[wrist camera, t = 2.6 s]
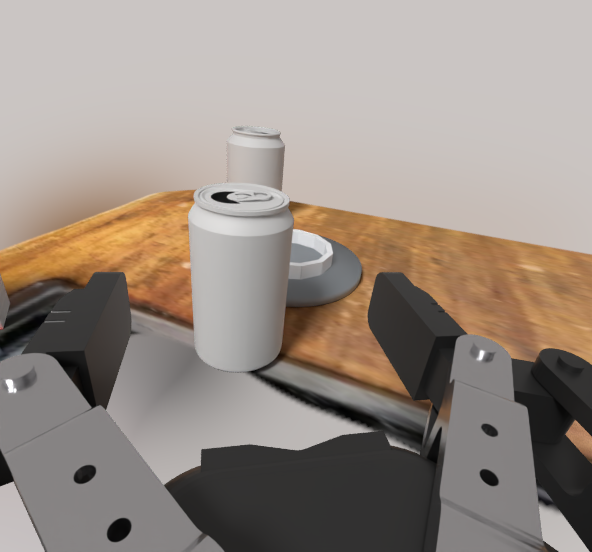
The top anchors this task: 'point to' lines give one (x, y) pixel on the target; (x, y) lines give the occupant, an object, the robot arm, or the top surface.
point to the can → (255, 156)
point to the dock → (327, 281)
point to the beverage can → (239, 273)
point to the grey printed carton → (3, 304)
